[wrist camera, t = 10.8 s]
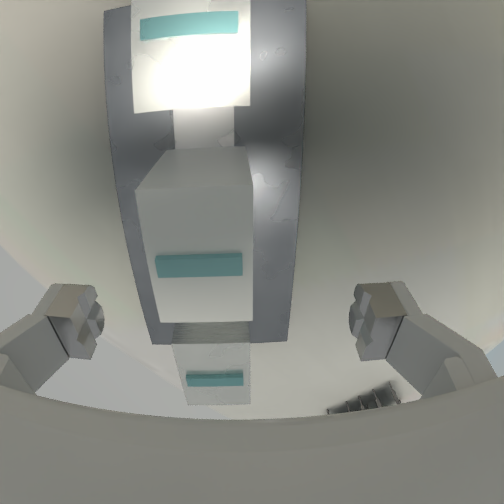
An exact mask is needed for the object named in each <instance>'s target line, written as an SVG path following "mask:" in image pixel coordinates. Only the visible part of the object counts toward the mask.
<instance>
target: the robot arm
mask: <svg viewBox="0 0 504 504" xmlns="http://www.w3.org/2000/svg"><path fill="white" fill-rule="evenodd" d="M97 296H98V295H97V293H96V290H95V288H94V287H93V286H91V285H77V284H58V283H55V284H52V285H51V286H50V287H49V289H48V290H47V292H46V293H45V295H44V296H43V298H42V299H41V301H40V302H39V304H38V305H37V307H36V308H35V310H34V312H33V313H32V315H30V314H28V315H26V316H25V317H23V318H22V319H20V320H19V321H17V322H16V323H14V324H13V325H11V326H10V327H8V328H7V329H5V330H4V331H2V332H1V333H0V504H504V376H501V377H497V375H496V373H495V372H494V370H493V368H492V366H491V364H490V363H489V361H488V359H487V357H486V356H485V354H484V352H483V350H482V349H480V348H479V347H477V346H476V345H474V344H473V343H471V342H470V341H468V340H467V339H465V338H464V337H462V336H461V335H459V334H458V333H456V332H454V331H453V330H451V329H450V328H448V327H447V326H445V325H444V324H442V323H440V322H439V321H437V320H436V319H434V318H433V317H431V316H429V315H428V314H423V313H422V312H421V310H420V308H419V307H418V305H417V303H416V302H415V300H414V298H413V297H412V295H411V293H410V292H409V290H408V288H407V287H406V285H405V283H404V282H402V281H393V282H387V283H366V284H357V286H356V288H355V291H354V296H355V299H356V301H355V302H354V303H353V304H352V305H351V308H350V312H349V325H350V330H351V333H352V335H353V336H355V337H356V338H357V342H356V348H357V351H358V354H359V357H360V360H361V361H369V360H380V359H386V361H387V362H388V363H389V364H390V365H391V366H392V367H393V368H394V369H395V370H396V371H397V372H399V373H400V374H401V375H402V376H403V377H404V378H405V379H406V380H407V381H408V382H409V383H410V384H411V385H412V386H413V387H414V388H415V389H416V390H417V391H418V392H419V393H420V394H421V395H422V396H421V398H420V399H419V400H416V401H412V402H407V403H402V404H397V405H391V406H386V407H380V408H374V409H368V410H361V411H354V412H347V413H339V414H331V415H321V416H311V417H298V418H282V419H257V420H214V419H190V418H173V417H161V416H151V415H142V414H133V413H125V412H118V411H111V410H105V409H98V408H93V407H87V406H82V405H77V404H72V403H67V402H62V401H58V400H53V399H49V398H45V397H41V396H37V395H36V394H35V392H36V391H37V390H38V389H39V388H40V387H41V386H42V385H43V384H44V383H45V382H46V381H47V380H48V379H49V378H50V377H51V376H52V375H53V374H54V373H55V372H56V371H57V370H58V369H59V368H60V367H61V366H62V365H63V364H64V363H65V362H66V361H67V360H69V358H78V359H89V360H91V358H92V355H93V353H94V350H95V348H96V345H97V343H96V341H95V338H97V337H98V336H99V335H101V333H102V331H103V328H104V312H103V309H102V307H101V306H100V305H99V304H98V303H97V302H96V301H95V300H96V298H97Z"/></svg>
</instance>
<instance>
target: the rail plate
mask: <svg viewBox="0 0 504 504" xmlns="http://www.w3.org/2000/svg"><path fill="white" fill-rule="evenodd" d="M104 71H105V90H106V104H107V116H108V126H109V136H110V145H111V153H112V161H113V168H114V175H115V182H116V188H117V194H118V200H119V206H120V212H121V217H122V223H123V228H124V233H125V238H126V243H127V248H128V252H129V257H130V261H131V266H132V270H133V274H134V278H135V283H136V287H137V291H138V295H139V298H140V302H141V306H142V310H143V313H144V317H145V321H146V324H147V328H148V331H149V335H150V338H151V341H152V344H164V345H172V349H173V353H174V357H175V360H176V364H177V368H178V372H179V375H180V379H181V383H182V386H183V390H184V393H185V397H186V400H187V403H188V405H239V404H250V343H264V342H282V341H287V336H288V327H289V318H290V308H291V298H292V288H293V277H294V266H295V255H296V243H297V230H298V217H299V203H300V188H301V172H302V154H303V134H304V110H305V78H306V0H131V5H130V6H125V7H120V8H116V9H111V10H107V11H104ZM240 146H245V148H246V152H247V157H248V162H249V166H250V171H251V176H252V181H253V321H233V322H182V323H161V322H160V318H159V314H158V310H157V306H156V301H155V297H154V292H153V288H152V283H151V278H150V274H149V269H148V264H147V259H146V253H145V248H144V243H143V237H142V231H141V226H140V220H139V213H138V207H137V200H136V193H135V190H136V189H137V187H138V186H139V185H140V183H141V182H142V181H143V179H144V178H145V177H146V175H147V174H148V173H149V171H150V170H151V169H152V168H153V166H154V165H155V164H156V163H157V161H158V160H159V159H160V158H161V156H162V155H163V154H164V153H165V151H166V150H173V149H189V148H208V147H240Z"/></svg>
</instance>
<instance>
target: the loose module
mask: <svg viewBox="0 0 504 504" xmlns="http://www.w3.org/2000/svg"><path fill="white" fill-rule="evenodd" d="M135 193H136V200H137V207H138V213H139V220H140V226H141V231H142V237H143V243H144V248H145V253H146V259H147V264H148V269H149V274H150V278H151V283H152V288H153V292H154V297H155V301H156V306H157V310H158V314H159V318H160V322H161V323H182V322H233V321H253V181H252V176H251V171H250V166H249V162H248V157H247V152H246V148H245V146H240V147H208V148H189V149H173V150H166V151H165V153H164V154H163V155H162V156H161V158H160V159H159V160H158V161H157V163H156V164H155V165H154V166H153V168H152V169H151V170H150V171H149V173H148V174H147V175H146V177H145V178H144V179H143V181H142V182H141V183H140V185H139V186H138V187H137V189H136V190H135Z"/></svg>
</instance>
